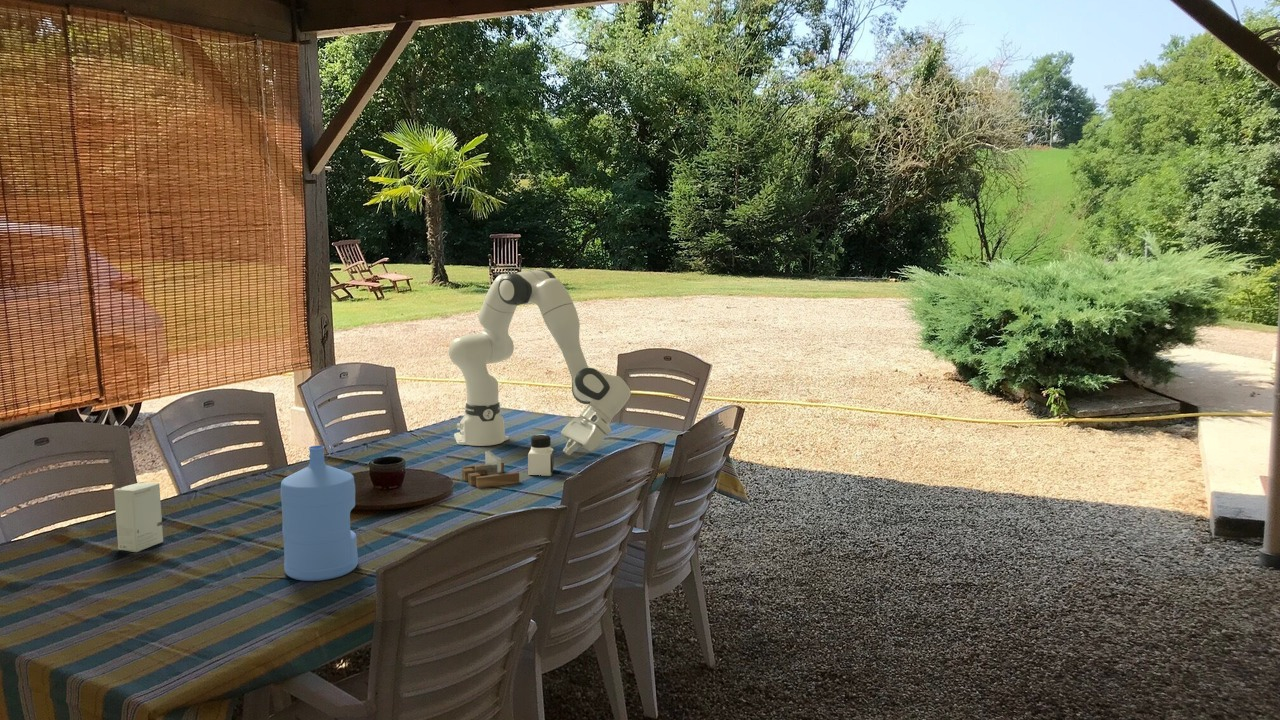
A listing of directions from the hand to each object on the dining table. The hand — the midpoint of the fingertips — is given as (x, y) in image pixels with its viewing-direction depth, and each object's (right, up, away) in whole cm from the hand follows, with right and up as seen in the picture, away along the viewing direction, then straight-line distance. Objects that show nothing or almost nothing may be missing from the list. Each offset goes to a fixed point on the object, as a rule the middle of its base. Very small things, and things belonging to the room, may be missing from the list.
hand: (565, 453), depth 289 cm
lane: (-22, -7, -11) cm, 26 cm away
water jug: (-48, -18, -84) cm, 99 cm away
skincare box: (-96, -15, -70) cm, 120 cm away
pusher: (-23, -6, -12) cm, 27 cm away
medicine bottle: (-8, -6, -3) cm, 10 cm away
